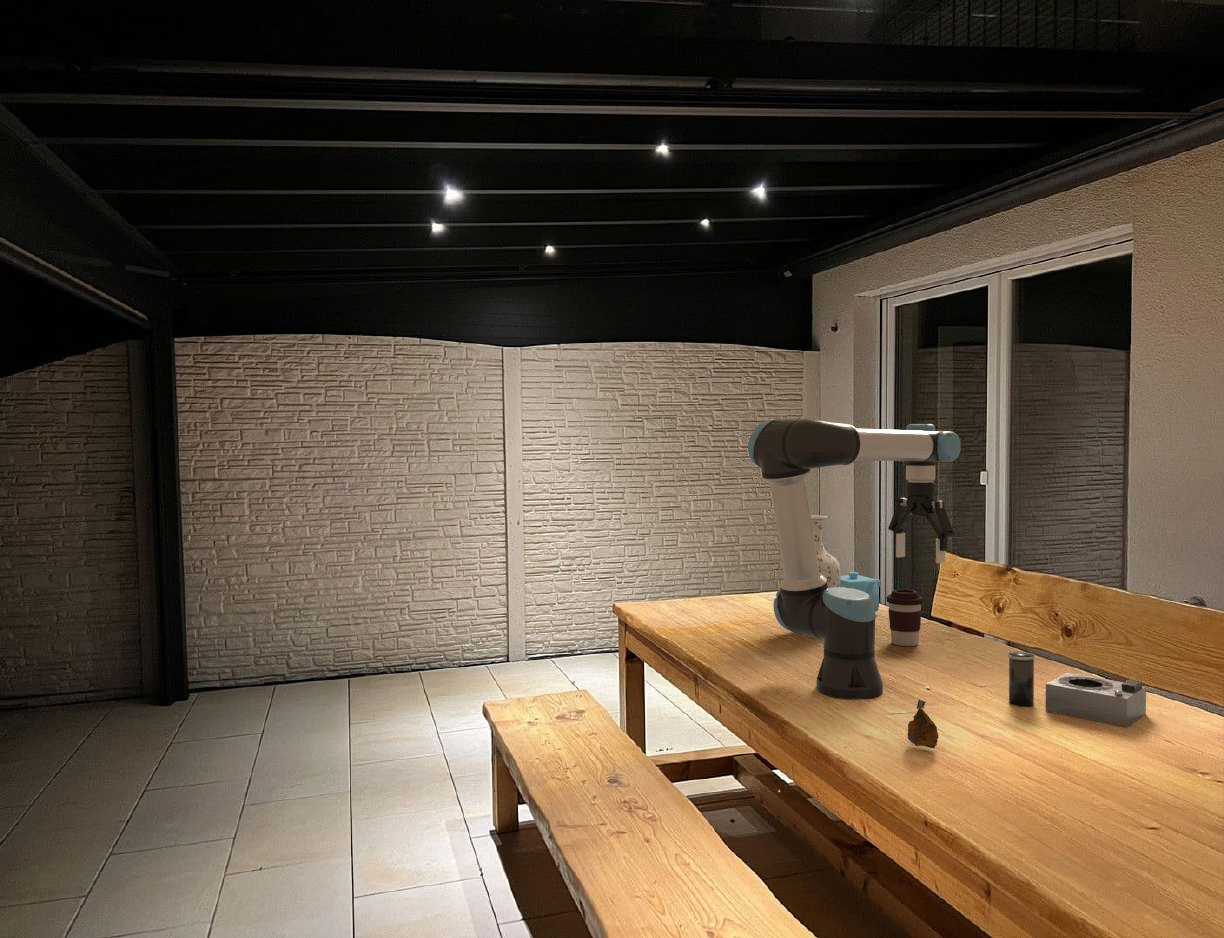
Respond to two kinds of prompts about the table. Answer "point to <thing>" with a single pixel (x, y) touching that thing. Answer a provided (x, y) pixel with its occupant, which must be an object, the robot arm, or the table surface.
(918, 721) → the chicken drumstick
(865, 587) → the teapot
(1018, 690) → the lens
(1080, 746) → the table surface
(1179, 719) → the table surface
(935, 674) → the table surface
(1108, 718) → the grey block with hole
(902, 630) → the coffee cup
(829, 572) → the vase
